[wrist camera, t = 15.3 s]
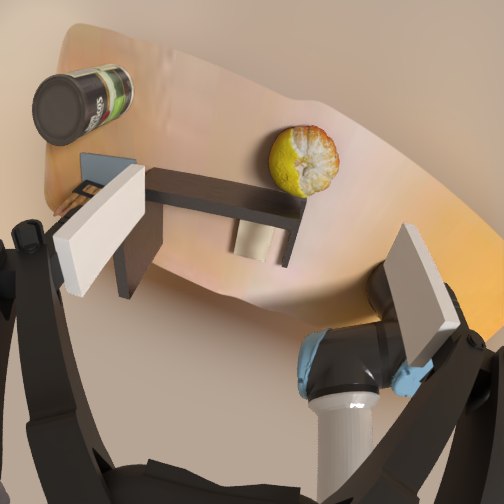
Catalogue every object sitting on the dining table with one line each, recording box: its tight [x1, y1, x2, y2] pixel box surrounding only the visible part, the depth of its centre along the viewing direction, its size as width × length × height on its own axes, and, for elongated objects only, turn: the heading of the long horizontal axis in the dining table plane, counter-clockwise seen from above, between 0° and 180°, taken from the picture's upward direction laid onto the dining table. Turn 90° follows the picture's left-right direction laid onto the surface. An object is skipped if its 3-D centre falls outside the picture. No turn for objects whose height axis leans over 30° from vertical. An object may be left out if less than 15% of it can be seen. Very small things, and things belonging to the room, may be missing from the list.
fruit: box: [269, 125, 340, 198], centre depth 46 cm, size 11×10×8 cm
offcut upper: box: [234, 220, 275, 262], centre depth 56 cm, size 6×10×1 cm, turn 169°
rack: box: [113, 167, 307, 299], centre depth 50 cm, size 26×16×16 cm, turn 80°
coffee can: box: [32, 64, 134, 146], centre depth 39 cm, size 10×10×14 cm
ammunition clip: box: [54, 180, 105, 218], centre depth 51 cm, size 11×2×12 cm, turn 72°
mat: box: [80, 153, 136, 186], centre depth 56 cm, size 12×14×1 cm
